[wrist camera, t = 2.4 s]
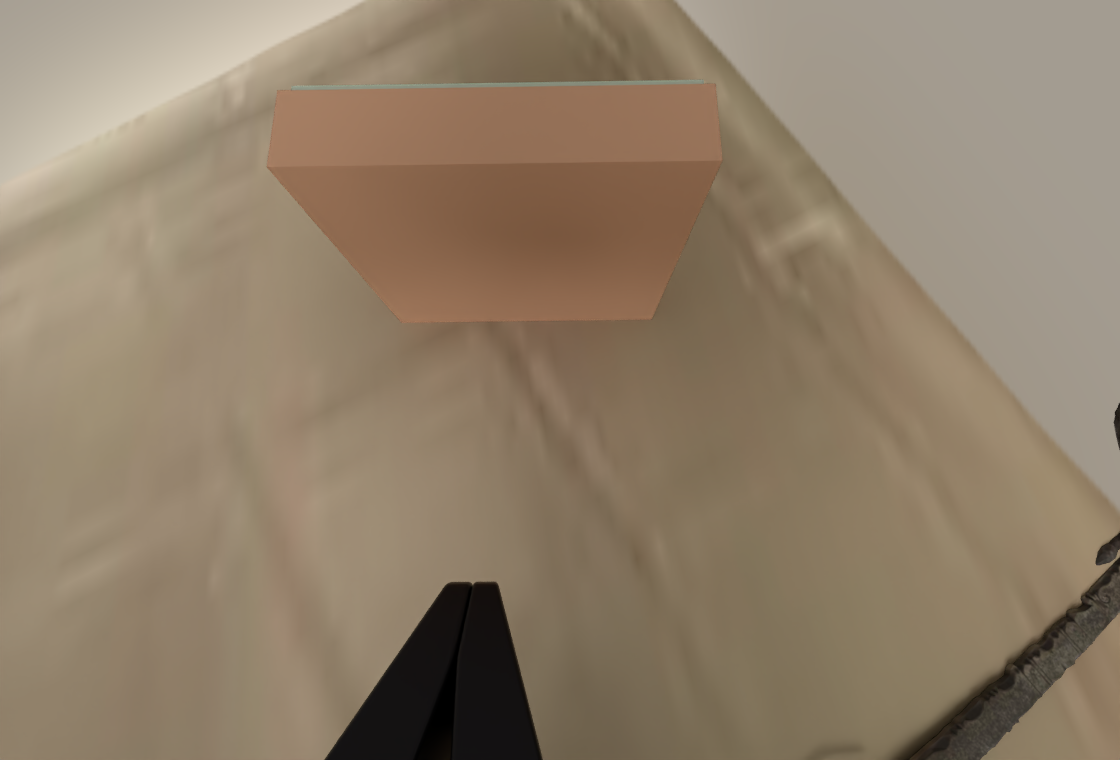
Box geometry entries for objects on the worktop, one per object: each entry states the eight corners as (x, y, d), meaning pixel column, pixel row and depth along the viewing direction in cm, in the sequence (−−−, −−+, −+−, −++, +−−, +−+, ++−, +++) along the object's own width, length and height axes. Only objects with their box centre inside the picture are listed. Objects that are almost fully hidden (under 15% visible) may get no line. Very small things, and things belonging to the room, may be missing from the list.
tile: (651, 319, 21) (722, 160, 12) (401, 322, 22) (266, 167, 12) (648, 266, 22) (714, 72, 12) (404, 269, 22) (278, 79, 12)
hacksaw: (865, 1085, 16) (896, 1143, 15) (658, 758, 18) (666, 780, 17) (1379, 600, 19) (1447, 607, 18) (1149, 369, 21) (1192, 358, 20)
